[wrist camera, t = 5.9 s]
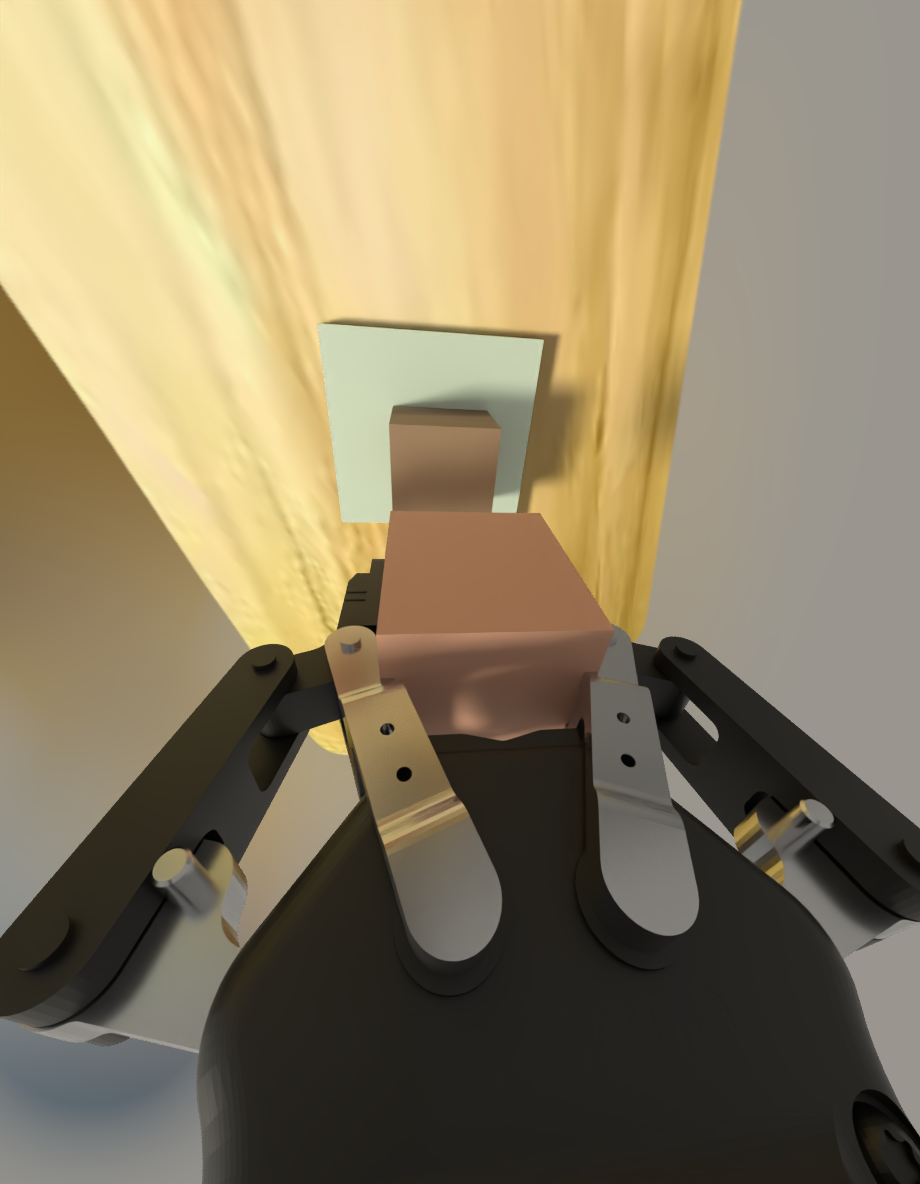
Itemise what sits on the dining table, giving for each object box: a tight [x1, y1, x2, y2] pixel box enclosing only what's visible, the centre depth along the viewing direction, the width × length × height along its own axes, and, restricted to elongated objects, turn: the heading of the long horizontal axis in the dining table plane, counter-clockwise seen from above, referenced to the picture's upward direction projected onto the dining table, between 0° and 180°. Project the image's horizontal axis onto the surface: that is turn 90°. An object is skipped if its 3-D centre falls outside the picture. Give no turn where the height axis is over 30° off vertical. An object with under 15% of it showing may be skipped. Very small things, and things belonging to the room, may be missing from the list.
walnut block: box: [389, 406, 502, 512], centre depth 24 cm, size 6×6×5 cm
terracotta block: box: [376, 511, 615, 741], centre depth 12 cm, size 5×5×6 cm
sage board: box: [317, 323, 544, 523], centre depth 26 cm, size 12×13×1 cm
